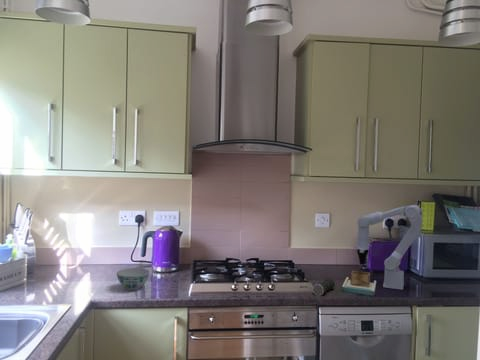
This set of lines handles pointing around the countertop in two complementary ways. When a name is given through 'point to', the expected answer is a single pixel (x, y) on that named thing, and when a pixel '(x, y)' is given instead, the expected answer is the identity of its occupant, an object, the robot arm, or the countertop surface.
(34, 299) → the countertop surface
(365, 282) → the crate
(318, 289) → the flashlight
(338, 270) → the countertop surface
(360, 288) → the tray
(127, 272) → the chinaware
